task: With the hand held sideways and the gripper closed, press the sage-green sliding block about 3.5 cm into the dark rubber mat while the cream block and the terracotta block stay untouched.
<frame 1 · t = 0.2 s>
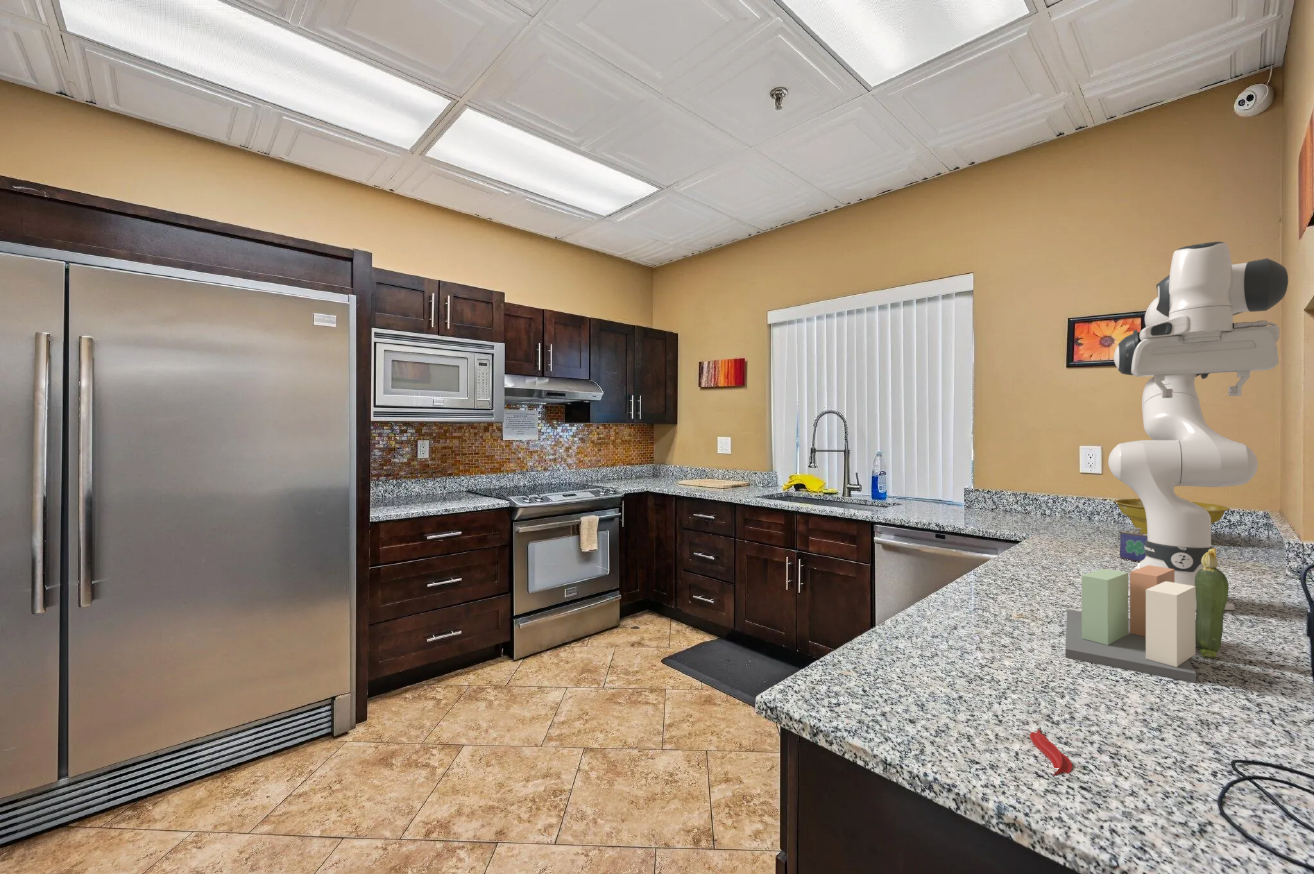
hand: (1199, 397, 106), 48 cm above the worktop, tool pointing down, fingers open, 8 cm apart
cream block: (1170, 622, 95), point 8 cm above the worktop, slide at 0.0 cm
cayenne pepper: (1050, 757, 70), on the worktop
flask: (1137, 562, 173), on the worktop
vegetable: (1211, 658, 99), on the worktop
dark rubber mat: (1121, 644, 105), on the worktop
planter bowl: (1168, 538, 210), on the worktop
sage green block: (1105, 605, 105), point 8 cm above the worktop, slide at 0.0 cm
terracotta block: (1152, 600, 107), point 8 cm above the worktop, slide at 0.0 cm
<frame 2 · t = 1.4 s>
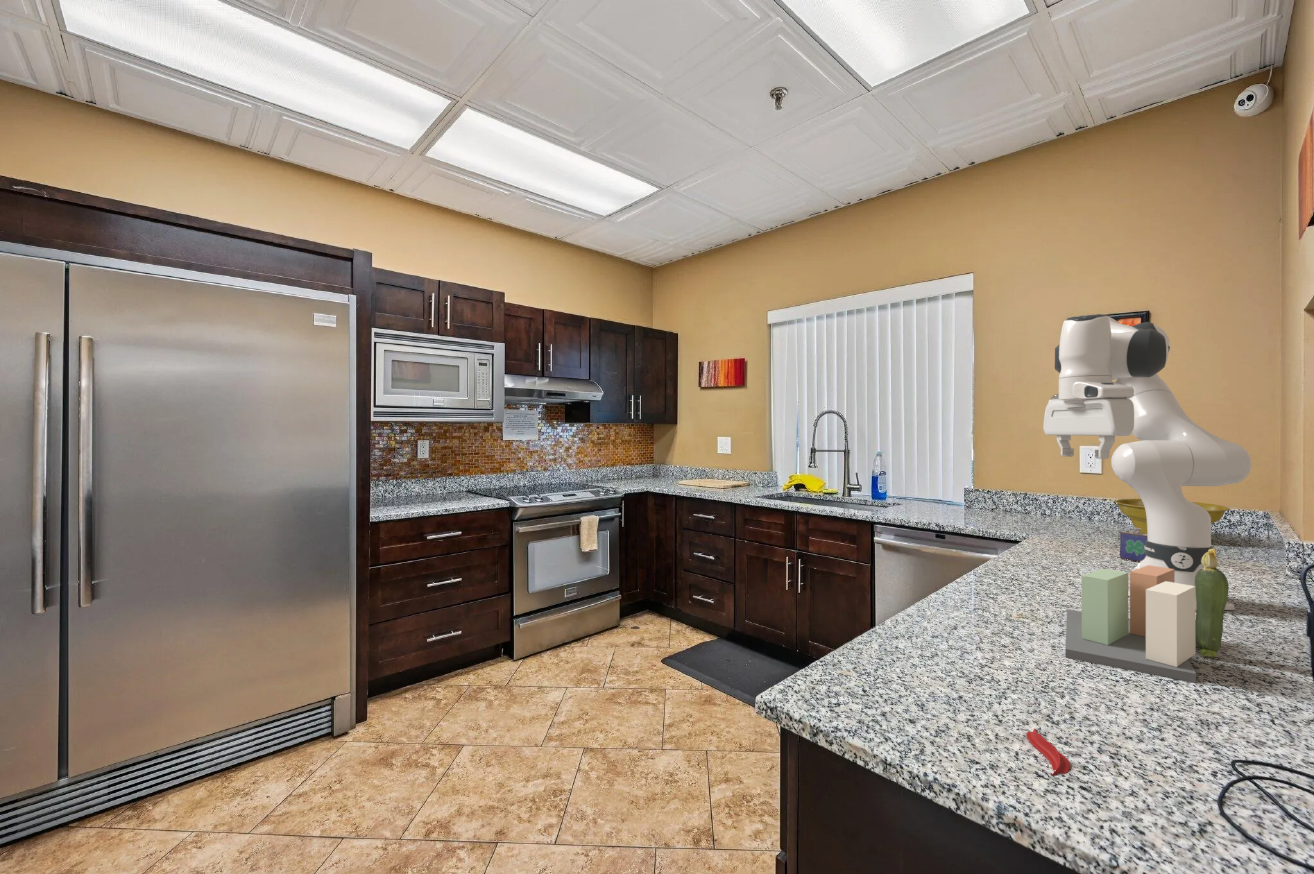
hand: (1083, 457, 114), 36 cm above the worktop, tool pointing down, fingers open, 8 cm apart
nothing on the worktop moved.
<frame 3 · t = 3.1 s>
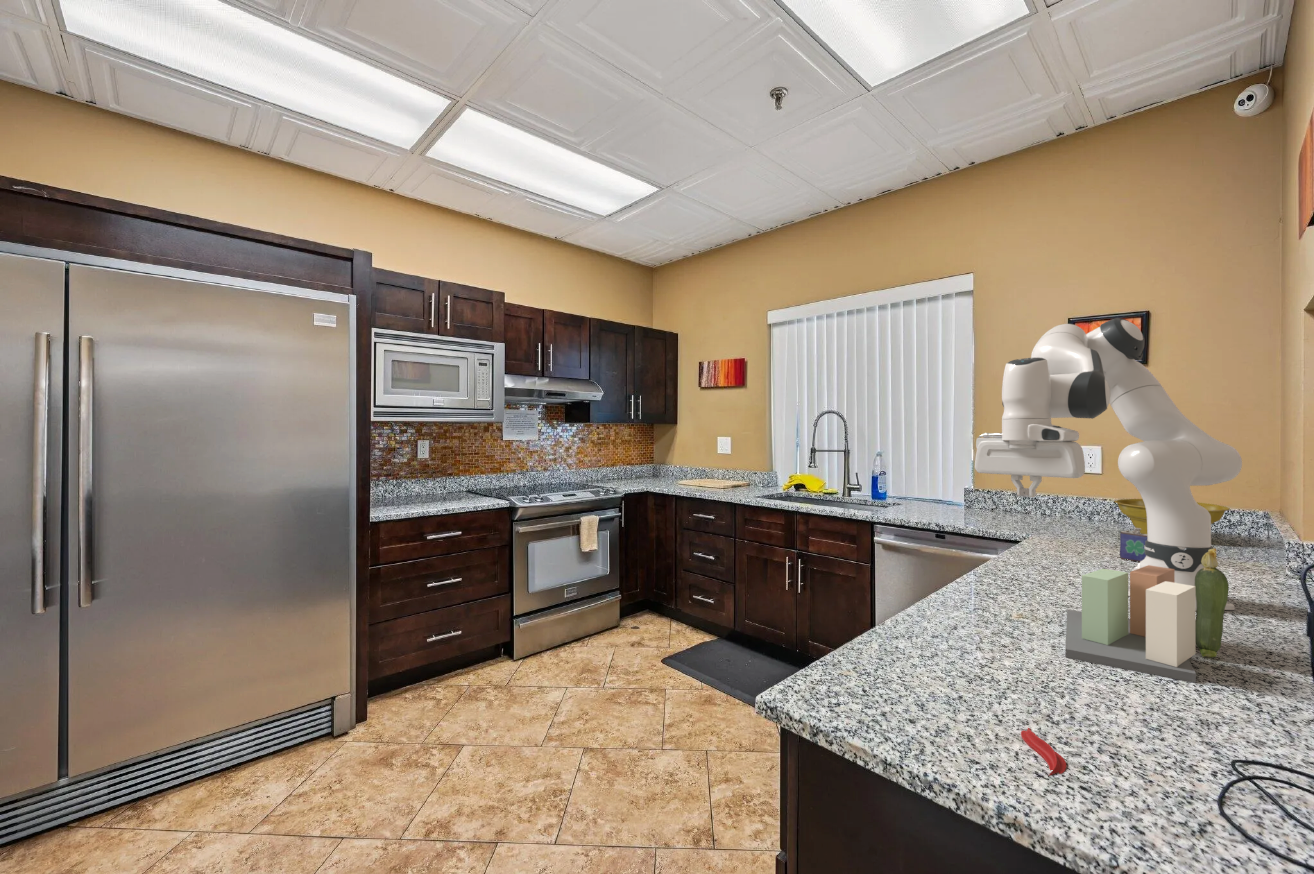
hand: (1026, 496, 117), 27 cm above the worktop, tool pointing down, fingers closed
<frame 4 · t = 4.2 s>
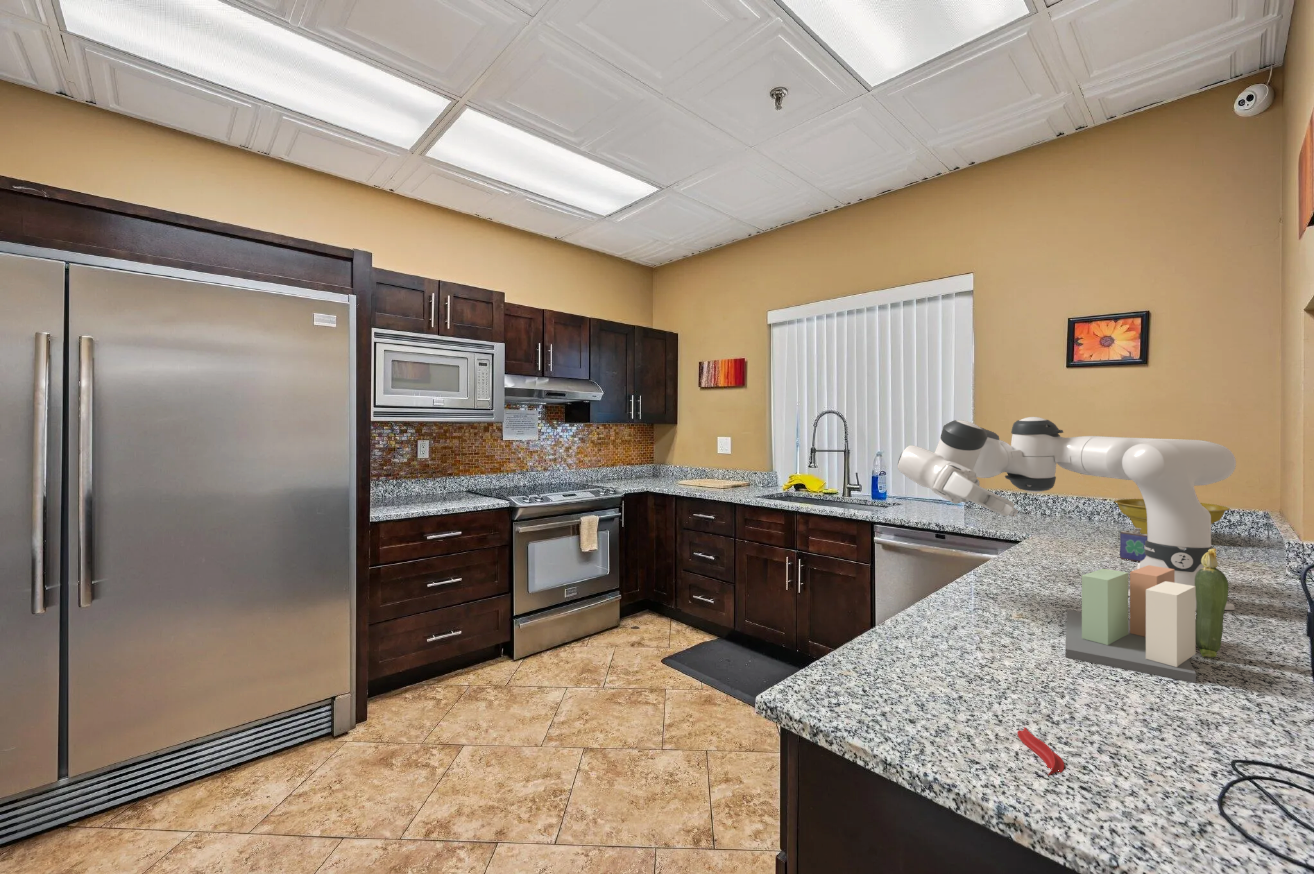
hand: (1014, 512, 119), 23 cm above the worktop, tool tilted 70°, fingers closed
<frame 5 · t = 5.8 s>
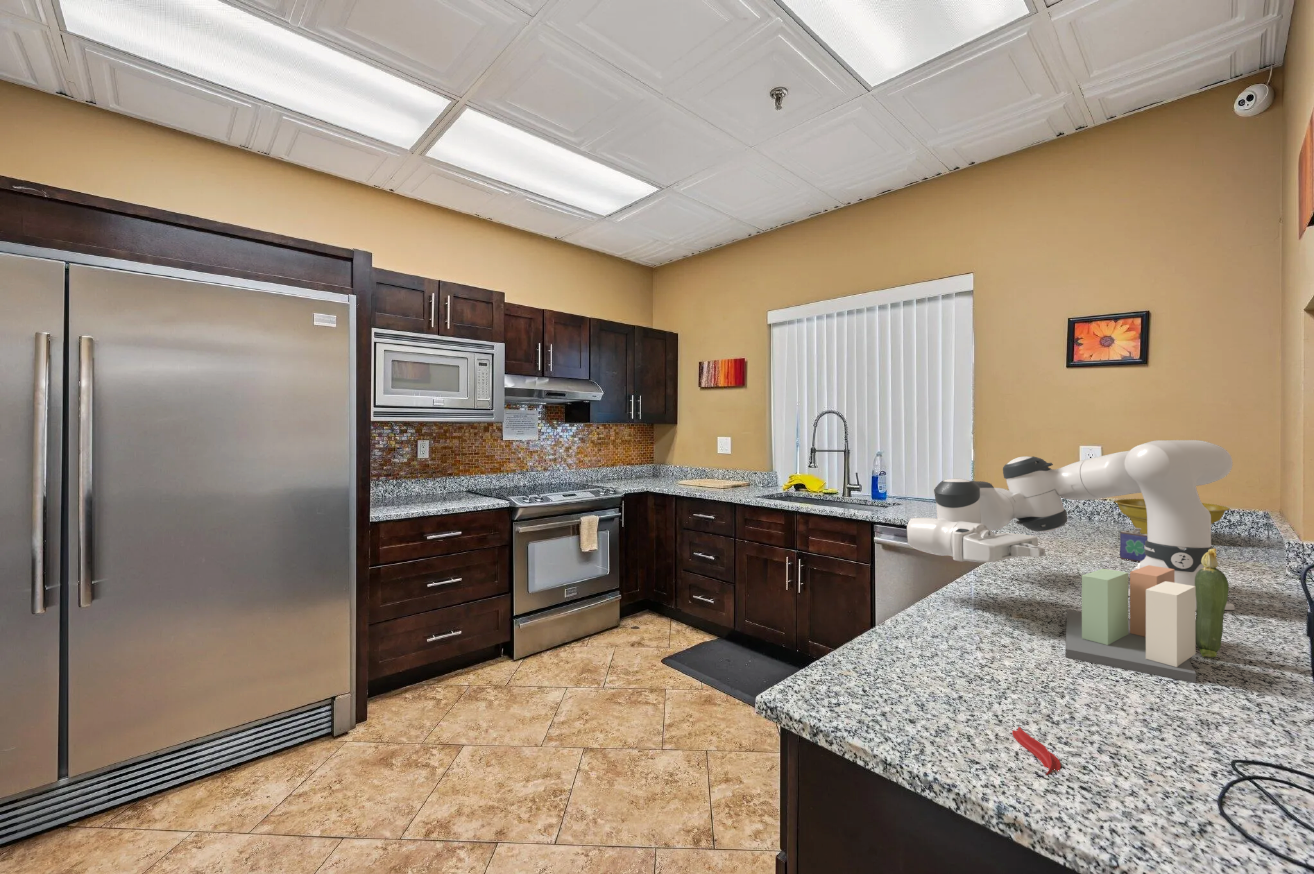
hand: (1042, 552, 113), 16 cm above the worktop, tool horizontal, fingers closed
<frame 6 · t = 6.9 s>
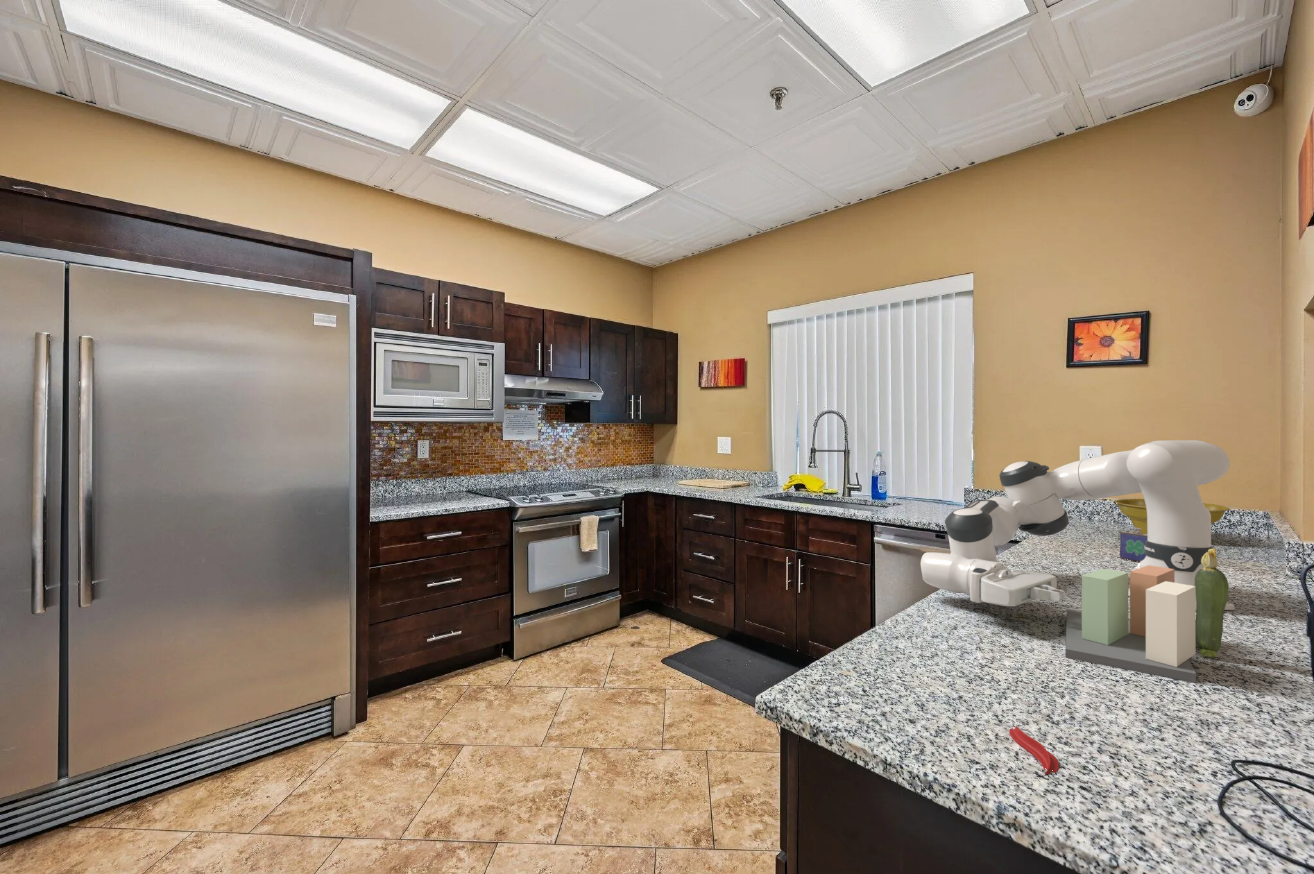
hand: (1062, 596, 111), 8 cm above the worktop, tool horizontal, fingers closed
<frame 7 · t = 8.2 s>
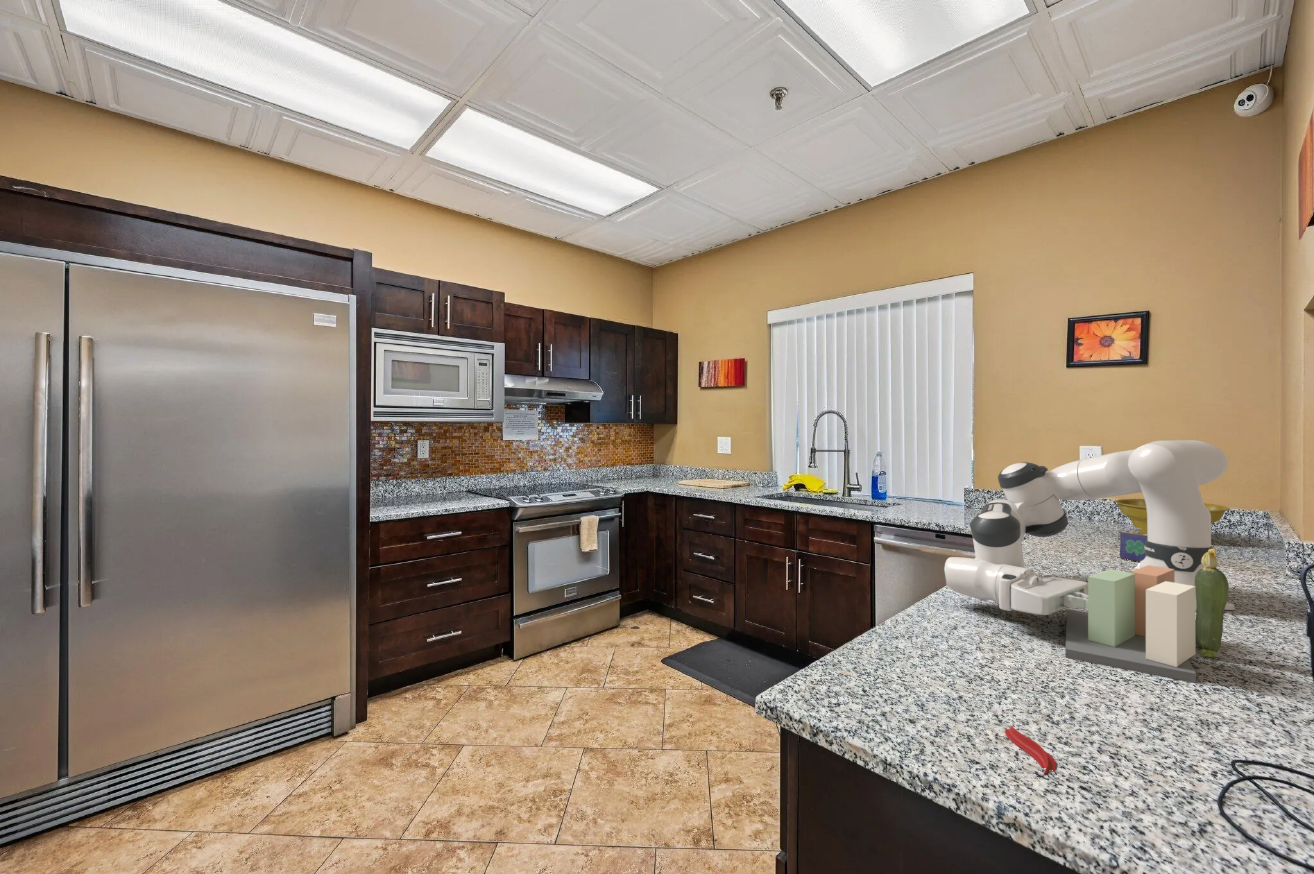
hand: (1098, 604, 106), 7 cm above the worktop, tool horizontal, fingers closed, pressing on sage green block
sage green block: (1111, 606, 104), point 8 cm above the worktop, slide at 1.0 cm, touching gripper
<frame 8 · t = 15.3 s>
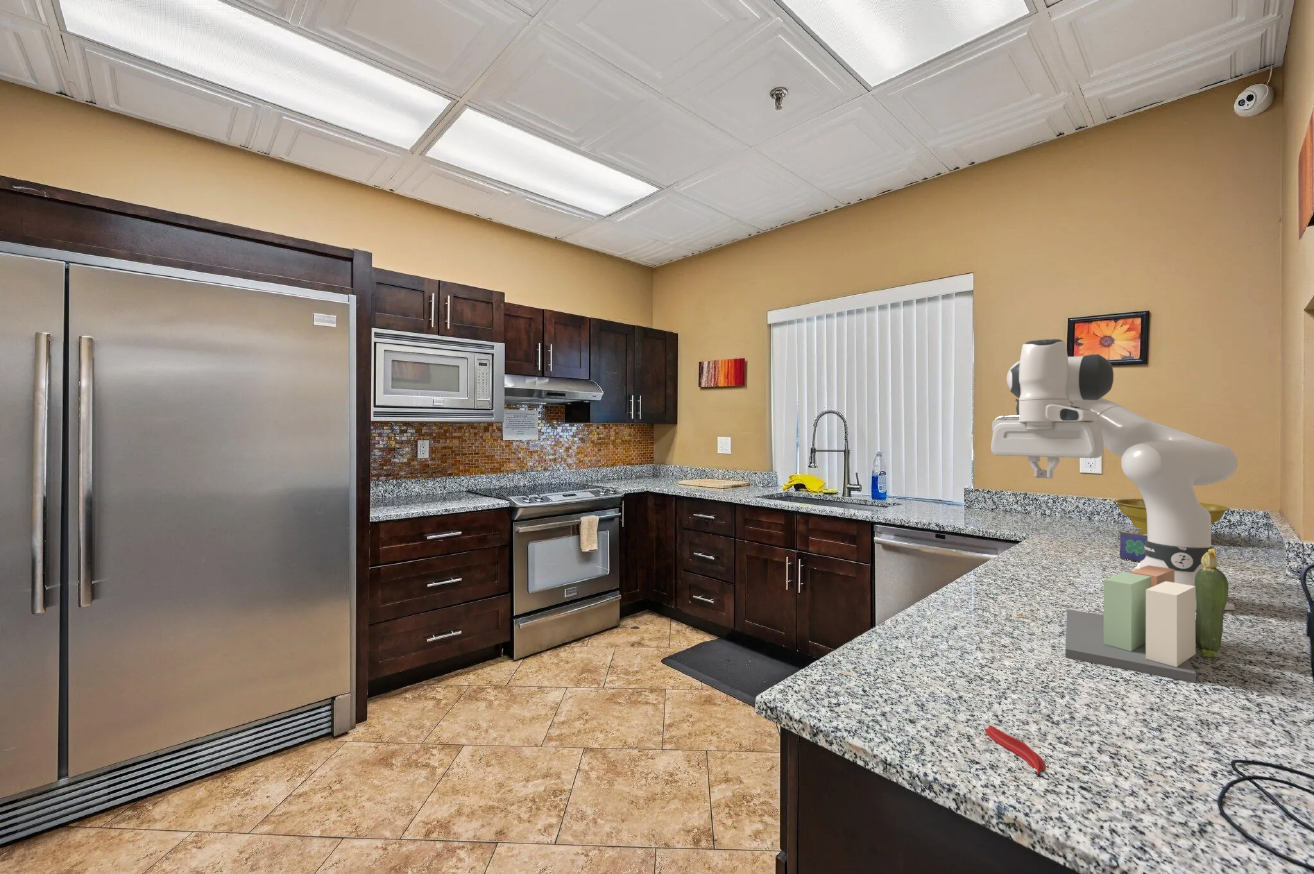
hand: (1043, 478, 117), 31 cm above the worktop, tool pointing down, fingers closed
cayenne pepper: (1014, 753, 70), on the worktop
sage green block: (1127, 609, 102), point 8 cm above the worktop, slide at 3.4 cm
everything else where it was.
at the end: sage green block slide at 3.4 cm; cream block slide at 0.0 cm; terracotta block slide at 0.0 cm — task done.
